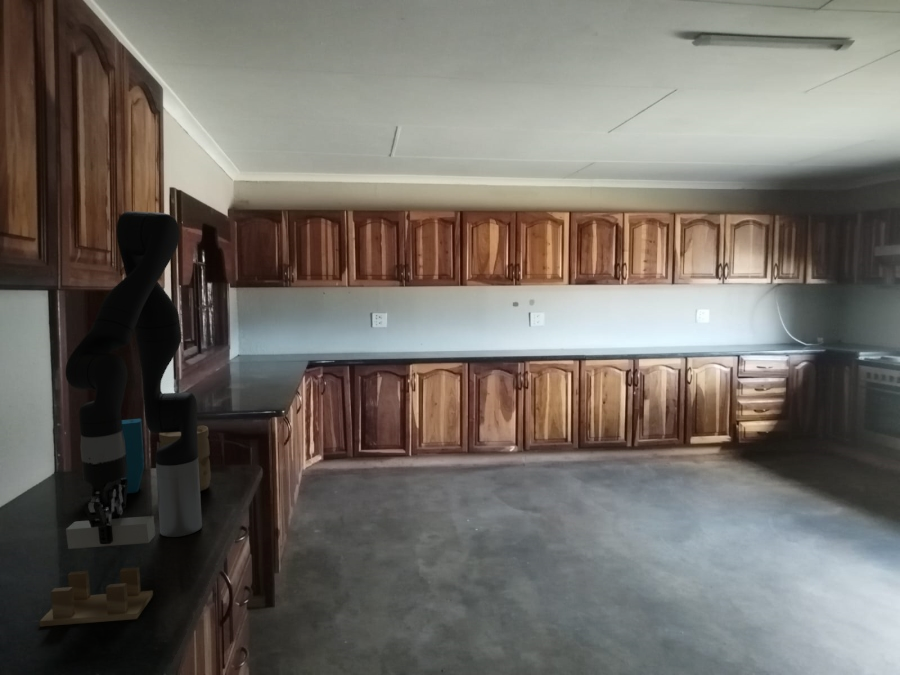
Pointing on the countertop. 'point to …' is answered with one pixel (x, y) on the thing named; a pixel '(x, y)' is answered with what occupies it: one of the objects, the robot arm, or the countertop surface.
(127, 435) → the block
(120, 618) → the rack
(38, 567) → the countertop surface
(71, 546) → the clay bar
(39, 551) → the countertop surface
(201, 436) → the container
